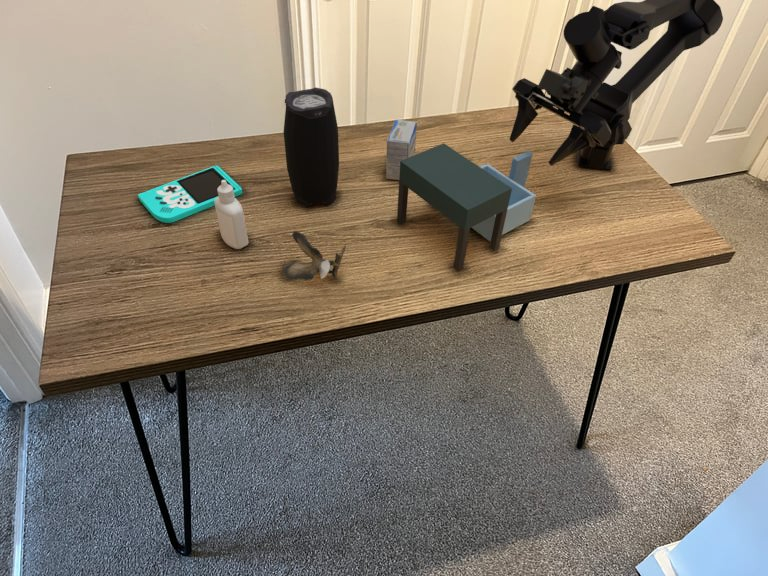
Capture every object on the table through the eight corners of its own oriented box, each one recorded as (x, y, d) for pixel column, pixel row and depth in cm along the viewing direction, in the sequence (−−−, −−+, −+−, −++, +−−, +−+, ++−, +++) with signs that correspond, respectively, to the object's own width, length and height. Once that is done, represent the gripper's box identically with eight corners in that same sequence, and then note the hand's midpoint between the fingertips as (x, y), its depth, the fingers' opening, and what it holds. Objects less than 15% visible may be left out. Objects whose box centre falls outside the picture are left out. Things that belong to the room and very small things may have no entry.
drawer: (498, 180, 115) (506, 137, 108) (545, 211, 108) (557, 167, 102) (443, 206, 109) (448, 162, 102) (490, 241, 102) (499, 196, 95)
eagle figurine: (346, 251, 98) (294, 235, 98) (346, 240, 91) (290, 222, 91) (332, 295, 96) (279, 278, 96) (331, 287, 89) (273, 269, 89)
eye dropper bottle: (222, 252, 99) (210, 193, 90) (220, 231, 102) (208, 172, 94) (249, 249, 99) (239, 189, 91) (246, 228, 103) (236, 169, 95)
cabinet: (437, 202, 110) (443, 142, 101) (499, 248, 101) (512, 188, 93) (396, 221, 106) (400, 160, 97) (457, 271, 97) (467, 210, 88)
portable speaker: (281, 199, 109) (269, 99, 96) (315, 176, 115) (309, 79, 101) (315, 217, 106) (308, 117, 92) (349, 193, 111) (347, 95, 97)
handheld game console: (138, 198, 108) (136, 192, 107) (217, 169, 116) (216, 163, 115) (162, 227, 103) (160, 220, 102) (244, 193, 110) (243, 187, 109)
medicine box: (408, 182, 114) (410, 142, 108) (385, 179, 115) (386, 139, 109) (414, 160, 120) (417, 121, 114) (393, 157, 120) (394, 118, 114)
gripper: (530, 31, 100) (474, 110, 103) (622, 73, 90) (556, 159, 93) (550, 65, 110) (498, 136, 112) (636, 106, 99) (576, 183, 102)
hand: (530, 152), depth 105 cm, fingers open, 9 cm apart
